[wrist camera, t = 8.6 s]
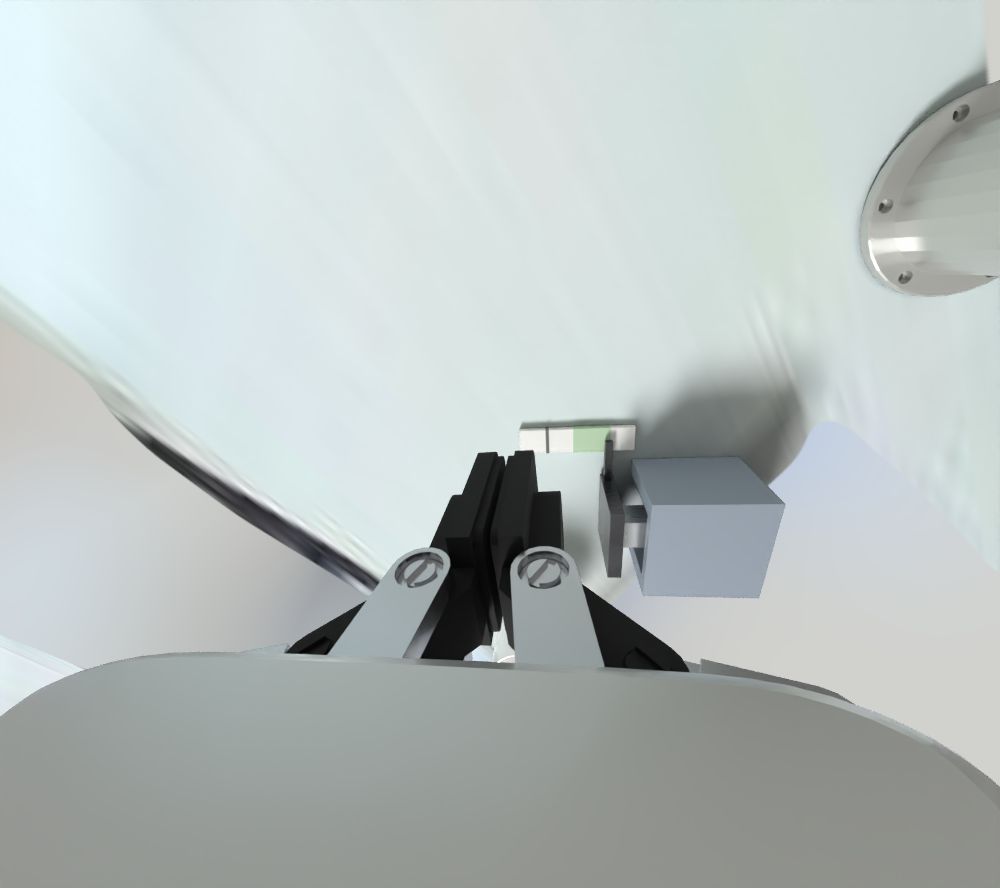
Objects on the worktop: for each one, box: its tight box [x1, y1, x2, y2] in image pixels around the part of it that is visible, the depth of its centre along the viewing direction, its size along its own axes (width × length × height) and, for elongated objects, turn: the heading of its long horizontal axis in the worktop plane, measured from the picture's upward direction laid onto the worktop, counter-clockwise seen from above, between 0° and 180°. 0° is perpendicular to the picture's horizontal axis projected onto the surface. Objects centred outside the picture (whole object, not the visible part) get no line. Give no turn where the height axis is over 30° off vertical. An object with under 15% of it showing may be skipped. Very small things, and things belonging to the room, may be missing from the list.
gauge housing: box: [519, 425, 785, 598], centre depth 36 cm, size 21×14×8 cm, turn 95°
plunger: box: [598, 440, 648, 578], centre depth 36 cm, size 10×11×7 cm
